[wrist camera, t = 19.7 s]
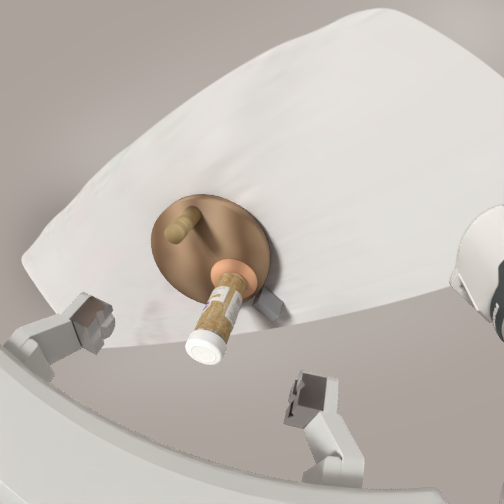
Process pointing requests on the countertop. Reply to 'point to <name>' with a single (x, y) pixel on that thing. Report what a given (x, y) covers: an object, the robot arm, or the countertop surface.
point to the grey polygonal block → (268, 304)
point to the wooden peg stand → (209, 246)
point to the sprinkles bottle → (217, 320)
